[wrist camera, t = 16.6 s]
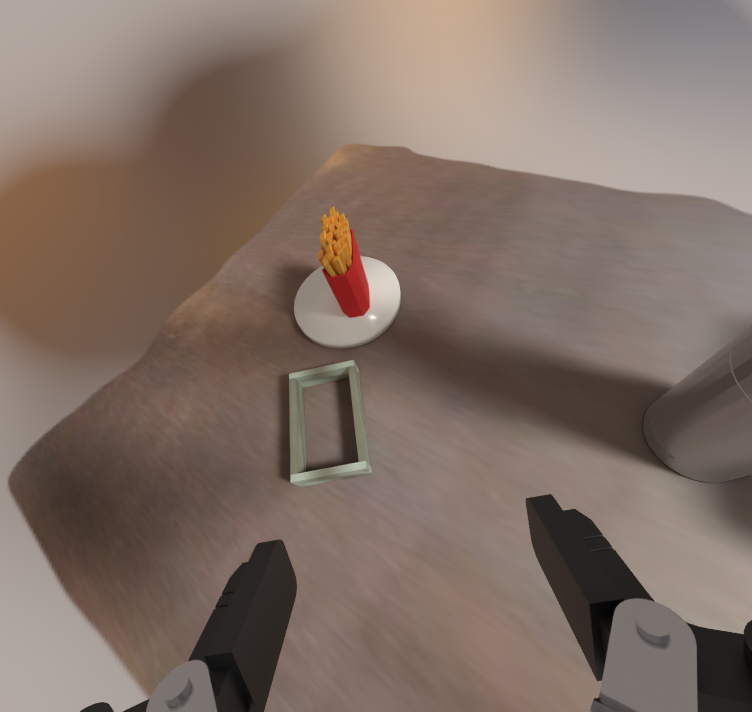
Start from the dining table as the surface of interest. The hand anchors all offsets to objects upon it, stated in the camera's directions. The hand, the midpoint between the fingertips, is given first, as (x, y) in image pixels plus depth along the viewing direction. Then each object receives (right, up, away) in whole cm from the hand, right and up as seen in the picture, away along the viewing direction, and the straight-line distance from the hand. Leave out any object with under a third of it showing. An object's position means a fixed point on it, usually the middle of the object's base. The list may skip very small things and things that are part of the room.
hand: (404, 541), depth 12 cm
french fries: (-4, +14, +41) cm, 43 cm away
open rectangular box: (-6, -3, +33) cm, 34 cm away
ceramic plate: (-5, +14, +42) cm, 45 cm away
